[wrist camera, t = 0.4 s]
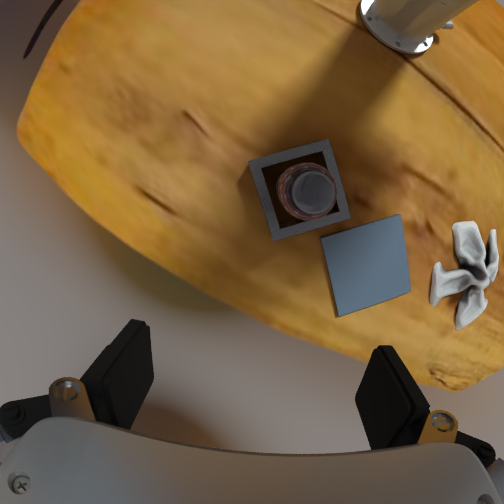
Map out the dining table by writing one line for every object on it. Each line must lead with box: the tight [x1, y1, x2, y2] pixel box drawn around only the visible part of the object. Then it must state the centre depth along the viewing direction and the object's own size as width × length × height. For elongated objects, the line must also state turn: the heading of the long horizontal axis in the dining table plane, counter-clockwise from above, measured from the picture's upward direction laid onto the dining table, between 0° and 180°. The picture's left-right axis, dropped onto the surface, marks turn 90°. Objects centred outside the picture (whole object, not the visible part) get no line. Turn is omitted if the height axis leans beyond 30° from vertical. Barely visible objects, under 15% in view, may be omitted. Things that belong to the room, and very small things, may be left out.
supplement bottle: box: [276, 163, 337, 220], centre depth 30 cm, size 6×6×11 cm
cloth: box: [430, 221, 499, 330], centre depth 35 cm, size 22×19×6 cm
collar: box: [248, 139, 351, 241], centre depth 34 cm, size 10×10×3 cm
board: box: [320, 214, 411, 316], centre depth 38 cm, size 12×12×1 cm
